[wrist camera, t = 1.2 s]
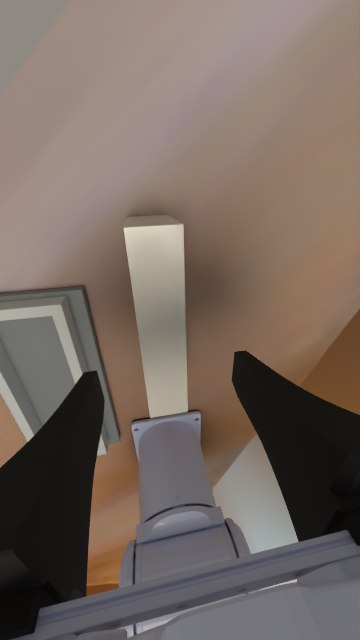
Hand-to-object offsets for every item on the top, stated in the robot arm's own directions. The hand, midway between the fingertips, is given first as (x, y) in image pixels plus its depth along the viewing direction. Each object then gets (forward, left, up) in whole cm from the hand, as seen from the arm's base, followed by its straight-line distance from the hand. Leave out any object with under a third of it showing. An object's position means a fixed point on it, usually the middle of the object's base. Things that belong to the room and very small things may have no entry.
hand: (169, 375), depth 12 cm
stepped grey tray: (-7, +10, -9) cm, 15 cm away
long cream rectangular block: (0, 0, -9) cm, 9 cm away
